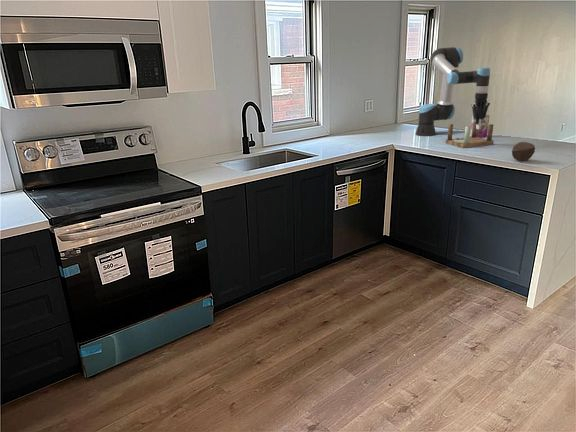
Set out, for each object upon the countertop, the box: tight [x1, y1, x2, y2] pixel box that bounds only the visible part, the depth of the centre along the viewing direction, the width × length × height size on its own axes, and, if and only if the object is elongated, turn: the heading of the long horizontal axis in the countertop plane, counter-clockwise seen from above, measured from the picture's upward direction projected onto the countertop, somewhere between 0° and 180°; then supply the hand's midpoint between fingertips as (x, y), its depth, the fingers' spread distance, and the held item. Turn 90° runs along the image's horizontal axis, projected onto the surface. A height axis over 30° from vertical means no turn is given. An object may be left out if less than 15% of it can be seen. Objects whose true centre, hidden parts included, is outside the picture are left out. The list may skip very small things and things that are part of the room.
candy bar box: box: [469, 113, 490, 138], centre depth 312 cm, size 11×5×16 cm, turn 84°
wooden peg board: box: [444, 121, 494, 149], centre depth 293 cm, size 20×24×14 cm
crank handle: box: [454, 126, 471, 143], centre depth 287 cm, size 11×3×11 cm, turn 30°
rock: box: [511, 141, 536, 162], centre depth 244 cm, size 12×10×10 cm
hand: (478, 128), depth 283 cm, fingers closed
